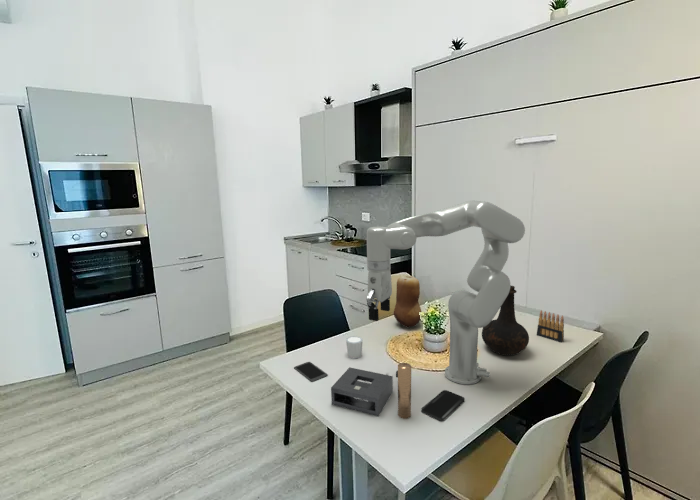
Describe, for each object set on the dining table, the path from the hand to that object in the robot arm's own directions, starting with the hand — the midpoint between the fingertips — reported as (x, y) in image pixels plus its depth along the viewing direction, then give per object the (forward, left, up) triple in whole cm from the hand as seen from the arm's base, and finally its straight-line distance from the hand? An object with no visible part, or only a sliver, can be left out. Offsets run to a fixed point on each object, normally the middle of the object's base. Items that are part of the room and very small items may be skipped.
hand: (379, 315), depth 121 cm
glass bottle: (-38, -46, -27) cm, 65 cm away
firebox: (+3, +8, -27) cm, 28 cm away
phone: (-22, +2, -27) cm, 35 cm away
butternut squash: (+7, -58, -27) cm, 64 cm away
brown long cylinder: (-12, +11, -27) cm, 31 cm away
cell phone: (+29, -1, -27) cm, 39 cm away
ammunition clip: (-56, -66, -27) cm, 91 cm away
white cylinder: (+18, -19, -27) cm, 38 cm away
